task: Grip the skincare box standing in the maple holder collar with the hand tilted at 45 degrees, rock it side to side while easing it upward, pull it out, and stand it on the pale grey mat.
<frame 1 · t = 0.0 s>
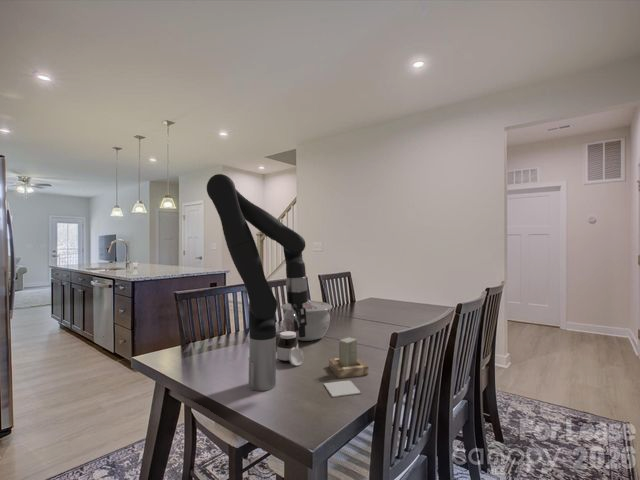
hand: (299, 333, 120), 17 cm above the table, tool pointing down, fingers open, 8 cm apart
spread jar: (290, 362, 139), on the table
chamber pot: (306, 337, 175), on the table
skincare box: (348, 370, 130), resting in holder collar
mat: (341, 389, 114), on the table
holder collar: (348, 370, 130), on the table
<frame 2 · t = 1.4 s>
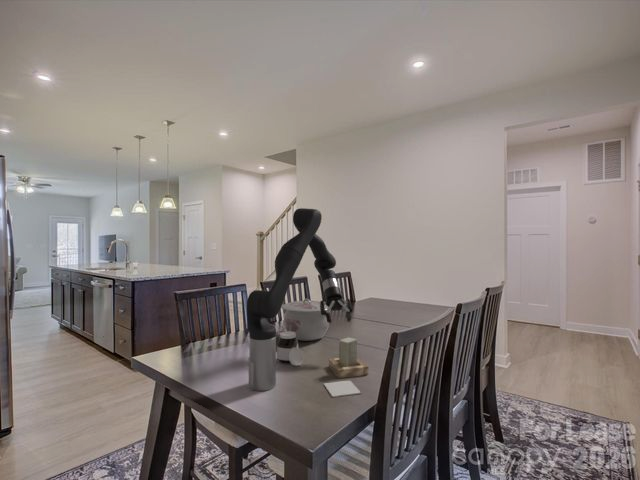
hand: (339, 321, 141), 17 cm above the table, tool tilted 45°, fingers open, 8 cm apart
nothing on the table moved.
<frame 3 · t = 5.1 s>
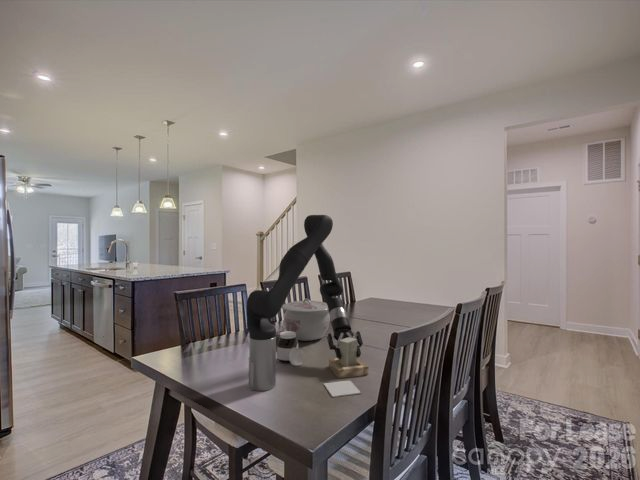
hand: (349, 357, 129), 6 cm above the table, tool tilted 45°, fingers closed on skincare box, 7 cm apart
skincare box: (348, 370, 130), resting in holder collar, touching gripper
everything else where it was.
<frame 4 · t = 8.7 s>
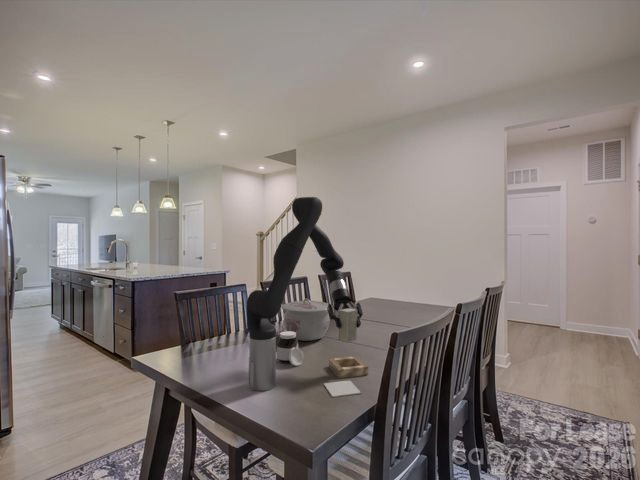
hand: (349, 327, 129), 17 cm above the table, tool tilted 45°, fingers closed on skincare box, 7 cm apart
skincare box: (347, 341, 130), point 12 cm above the table, touching gripper
everything else where it was.
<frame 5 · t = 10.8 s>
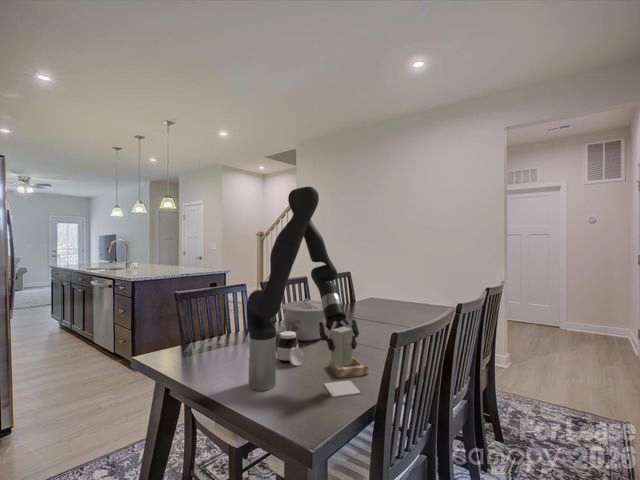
hand: (343, 349, 113), 14 cm above the table, tool tilted 45°, fingers closed on skincare box, 7 cm apart
skincare box: (341, 364, 114), point 8 cm above the table, touching gripper
everything else where it was.
when the fingers open (7 cm above the table, at t = 12.6 s): skincare box drops 1 cm, resting on mat.
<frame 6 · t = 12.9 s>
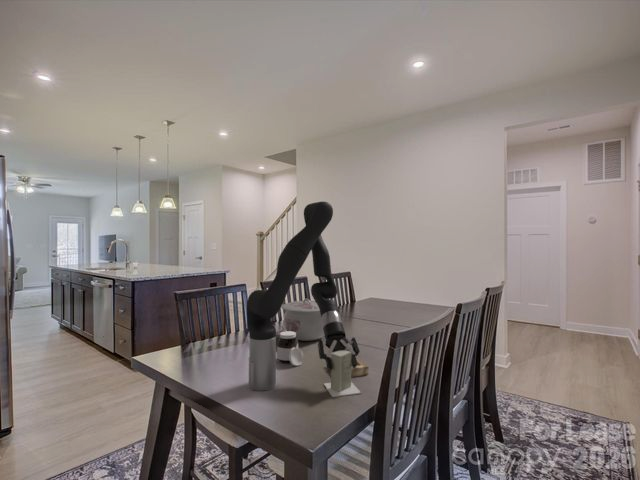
hand: (343, 368, 112), 8 cm above the table, tool tilted 45°, fingers open, 8 cm apart
skincare box: (341, 388, 114), resting on mat
everything else where it was.
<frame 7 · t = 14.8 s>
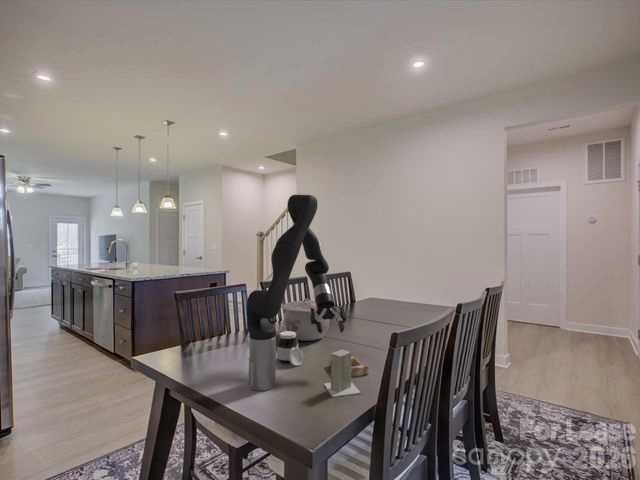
hand: (331, 331, 127), 16 cm above the table, tool tilted 45°, fingers open, 8 cm apart
nothing on the table moved.
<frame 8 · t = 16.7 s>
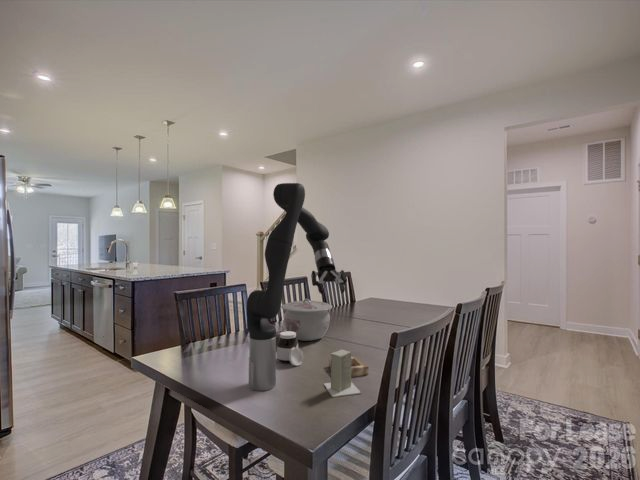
hand: (332, 292, 130), 31 cm above the table, tool tilted 45°, fingers open, 8 cm apart
nothing on the table moved.
at the end: skincare box 0.3 cm from the mat (horizontally); skincare box tilted 0°; the gripper is holding nothing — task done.
